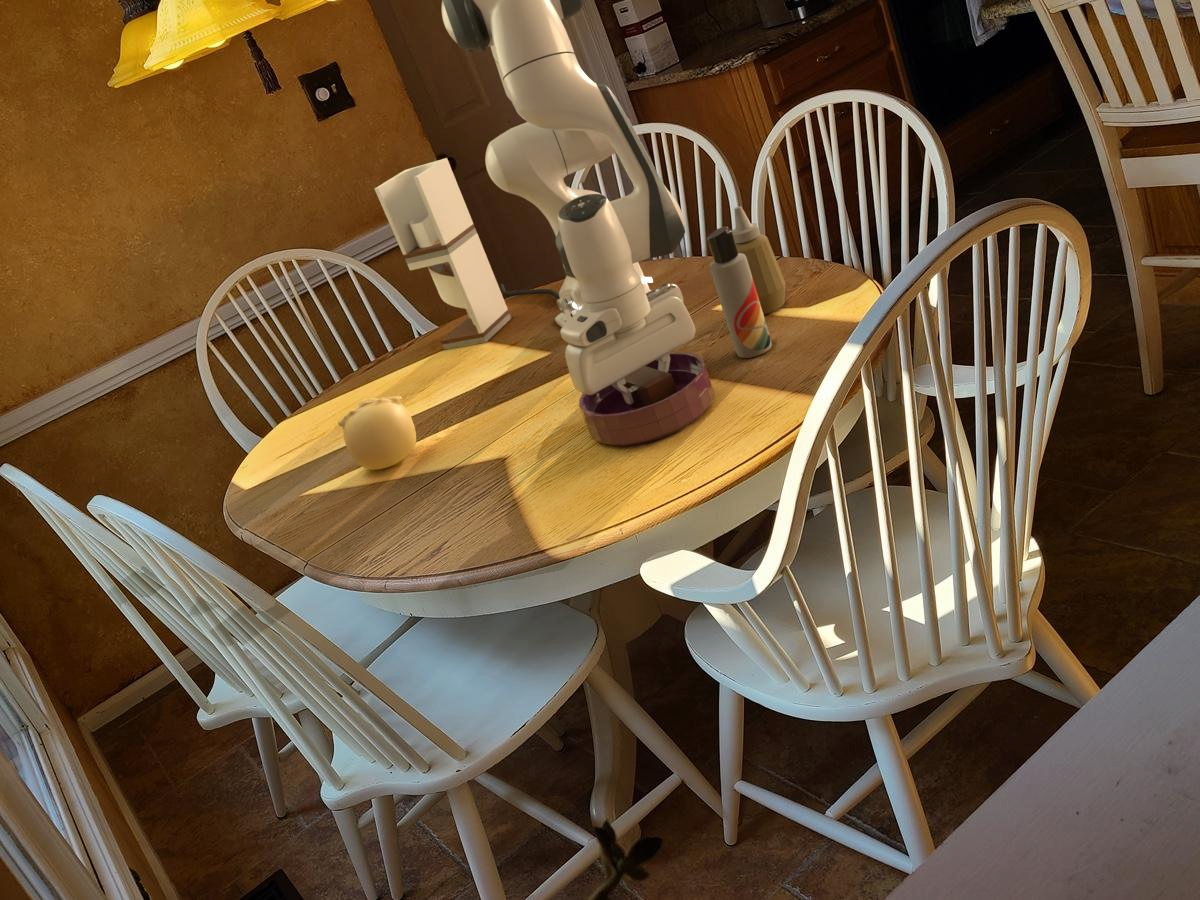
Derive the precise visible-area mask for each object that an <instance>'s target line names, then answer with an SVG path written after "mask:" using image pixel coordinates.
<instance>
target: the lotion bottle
mask: <svg viewBox="0 0 1200 900" xmlns="http://www.w3.org/2000/svg"><path fill="white" fill-rule="evenodd" d="M706 240H707V244H708V246H709V249H710V253H711V255H712V259H713V261H712V262H711V263H710V264H709V271H710V274H711V277H712V281H713V284H714V287H715V290H716V293H717V296H718V297H717V298H718V300H719V303H720V306H721V310H722V313H723V316H724V319H725V322H726V325H727V329H728V332H729V335H730V338H731V342H732V344H733V348H734V351H735V353H736V356H737V357H739V358H742V359H750V358H751V359H752V358H755V357H758V356H762V355H763V354H765V353H766V352H768V351H769V350H771V348H772V339H771V335H770V332H769V329H768V325H767V322H766V318H765V314H763V312H762V308H761V305H760V302H759V298H758V295H757V291H756V288H755V285H754V281H753V278H752V275H751V271H750V268H749V265H748V261H747V258H746V256H745V255H744V254H742V253H738V251H737V247H736V244H735V241H734V237H733V234H732V229H731V228H729V226H726V225H725V226H722V227H719V228H716V229H713V230H712V231H710V233H709V234H708V235H707V237H706Z"/></svg>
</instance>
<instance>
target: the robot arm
mask: <svg viewBox="0 0 1200 900" xmlns="http://www.w3.org/2000/svg"><path fill="white" fill-rule="evenodd" d="M585 2H586V0H441V17H442V22H443V25H444V27H445V29H446V31H447V33H448V35H449V36H450V37H451V39H452V40H453V42H455V43H456V44H457V46H458V47H459V48H460V49H462V50H465V51H467V52H486V51H487V48H488V47H490V50H491V54H492V57H493V59H494V63H495V65H496V68H497V71H498V74H499V78H500V81H501V83H502V86H503V89H504V93H505V95H506V97H507V99H509V100H510V101H511V104H512V106H513V107H514V109H515V111H516V113H517V114H518V116H519V117H521V118H522V119H523V120H524V121H526V122H524V123H521V124H518V125H516V126H514V127H511V128H509V129H507V130H506V131H505V132H502V133H501V134H499V135H498V136H496V137H495V138H494V139H492V140H491V141H489V142H488V144H487V147H486V150H485V157H484V159H485V162H484V163H485V167H486V171H487V174H488V176H489V178H490V180H491V181H492V182H493V183H494V185H495V186H497V188H499V189H500V190H502V191H504V192H506V193H507V194H512V195H515V196H517V197H520V198H523V199H525V200H526V201H528V202H529V203H531V204H532V205H534V206H535V207H536V208H537V209H538V210H539V211H540V212H541V214H543V216H544V217H545V218H546V220H547V221H548V223H549V225H550V227H551V229H552V231H553V233H554V236H555V246H556V248H557V251H558V253H559V256H560V259H561V262H562V267H563V270H564V274H565V278H564V281H563V283H562V284H561V287H560V289H559V291H556V290H554V289H550V288H534V289H520V290H512V291H511V290H510V291H507V290H506V288H505V285H504V283H500V284H499V289H500V291H501V294H502V296H507V297H508V296H509V297H514V296H522V295H538V294H548V295H552V296H554V298H556V299H557V300H556V304H557V306H558V308H559V310H560V311H561V312H560V313H559V314H557V315H556V316H555V318H554V320H555V323H556V324H557V325H558V326H559V327H561V328H560V331H559V332H560V336H561V338H562V340H563V341H564V342H566V343H568V344H567V345H566V347H565V353H564V354H565V355H564V358H565V362H566V365H567V369H568V373H569V376H570V379H571V382H572V385H573V387H574V388H575V390H576V391H578V392H580V393H581V394H583V393H584V394H587V395H593V394H595V393H597V392H599V391H600V390H602V389H604V388H606V387H607V386H609V385H612V386H613V387H614V388H616V389H617V390H618V391H620V392H621V393H622V394H623V397H624V399H625V401H626V403H628V404H632V403H634V402H636V401H637V400H638V396H637V393H636V390H634V389H631V388H629V389H627V388H626V387H624V386H623V385H624V384H626V382H625V379H624V377H625V376H627V375H629V374H631V373H633V372H634V371H636V370H638V369H640V368H642V367H643V366H645V365H647V364H649V363H651V362H652V361H654V360H657V361H659V365H658V370H660V371H663V372H666V373H668V370H669V364H670V356H669V353H671V352H673V351H674V350H676V349H678V348H680V347H681V346H683V345H685V344H687V343H688V342H690V341H692V340H694V338H695V335H696V331H697V330H696V325H695V323H694V321H693V319H692V317H691V314H690V313H689V310H688V309H687V307H686V305H685V303H684V296H683V293H682V290H681V288H680V287H679V286H678V285H677V284H674V283H668V282H666V283H663V284H661V285H660V286H659V287H657V288H655V289H650V286H649V284H648V283H654V280H653V278H652V276H645V275H644V272H643V269H642V267H641V266H640V264H639V263H640V262H643V261H645V260H648V259H655V258H659V257H663V256H667V255H670V254H673V253H674V252H675V250H677V248H678V247H679V245H680V244H681V242H682V240H683V238H684V236H685V234H686V224H685V218H684V214H683V212H682V209H681V207H680V205H679V203H678V202H677V200H676V199H675V197H674V196H673V194H672V193H671V191H670V190H669V189H668V188H667V187H666V185H665V184H664V183H663V181H662V179H661V177H660V175H659V174H658V172H657V170H656V166H655V165H654V163H653V161H652V159H651V158H650V155H649V153H648V152H647V150H646V149H645V146H644V144H643V143H642V141H641V138H640V137H639V135H638V133H637V131H636V130H635V128H634V126H633V124H632V122H631V120H630V119H629V117H628V116H627V114H626V112H625V111H624V109H623V107H622V105H621V103H620V101H619V100H618V98H617V97H616V95H615V94H614V93H613V91H612V90H611V89H610V88H609V87H608V86H607V85H606V84H605V83H599V82H595V81H594V80H592V79H591V78H590V77H589V76H588V75H587V74H586V73H585V72H584V71H583V69H582V67H581V66H580V64H579V61H578V59H577V56H576V53H575V51H574V48H573V45H572V41H571V40H570V37H569V34H568V32H567V29H566V27H565V25H564V24H563V22H562V20H563V21H567V20H569V19H571V18H572V17H573V16H575V15H576V14H578V13H580V12H581V10H582V7H583V6H584V4H585ZM614 154H616V155H617V157H618V159H619V161H620V163H621V165H622V167H623V169H624V171H625V172H626V174H627V176H628V178H629V179H630V181H631V184H632V186H633V190H632V191H631V193H629V194H627V195H624V196H622V197H619V198H616V199H614V200H611V201H610V199H608V197H607V196H605V195H604V194H601V193H600V192H597V191H595V190H589V189H581V188H572V187H570V186H568V185H566V183H565V178H566V177H567V176H569V175H571V174H574V173H577V172H579V171H582V170H584V169H586V168H589V167H592V166H595V165H597V164H599V163H602V162H603V161H605V160H606V159H608V158H610V157H611V156H612V155H614ZM535 289H536V290H535Z"/></svg>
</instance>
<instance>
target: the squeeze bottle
mask: <svg viewBox="0 0 1200 900" xmlns="http://www.w3.org/2000/svg"><path fill="white" fill-rule="evenodd" d="M733 210H734V224H735V228H733V229H731V231H732V234H733V237H734V241H735V244H736V247H737V251H738V253H742V254H744V255H745V256H746V258H747V261H748V265H749V268H750V271H751V275H752V278H753V281H754V285H755V288H756V291H757V295H758V298H759V302H760V305H761V308H762V312H763V315H767V314H770V313H773V312H775V311H778V310H779V309H780V308H782V307H783V306H784V305H785V299H786V281H785V278H784V275H783V273H782V270H781V268H780V266H779V263H778V261H777V258H776V256H775V253H774V251H773V249H772V246H771V243H770V240H769V238H768V237H767V236H766V235H764V234H761V231H760V227H759V225H758V223H755V222H750V220H749V218H748V216H747V213H746V212H745V210H744V209H743V207H742V205H740V206H736V207H734V209H733Z"/></svg>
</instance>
